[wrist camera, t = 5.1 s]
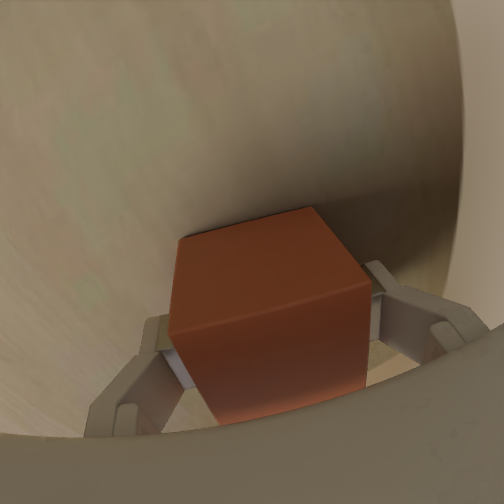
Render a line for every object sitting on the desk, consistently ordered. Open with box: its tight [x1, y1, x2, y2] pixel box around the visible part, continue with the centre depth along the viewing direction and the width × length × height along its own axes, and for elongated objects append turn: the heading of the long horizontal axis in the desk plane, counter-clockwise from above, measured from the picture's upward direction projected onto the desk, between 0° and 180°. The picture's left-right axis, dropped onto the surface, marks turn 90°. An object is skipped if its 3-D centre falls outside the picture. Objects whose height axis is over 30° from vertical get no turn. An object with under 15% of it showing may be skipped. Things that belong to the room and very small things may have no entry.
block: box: [167, 207, 372, 426], centre depth 9 cm, size 4×4×4 cm
